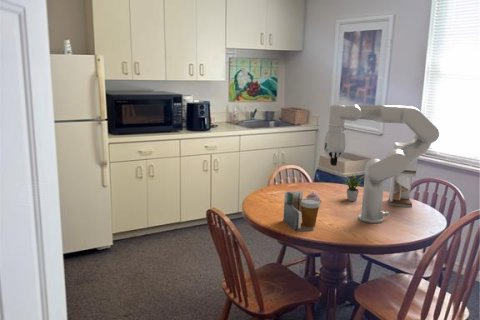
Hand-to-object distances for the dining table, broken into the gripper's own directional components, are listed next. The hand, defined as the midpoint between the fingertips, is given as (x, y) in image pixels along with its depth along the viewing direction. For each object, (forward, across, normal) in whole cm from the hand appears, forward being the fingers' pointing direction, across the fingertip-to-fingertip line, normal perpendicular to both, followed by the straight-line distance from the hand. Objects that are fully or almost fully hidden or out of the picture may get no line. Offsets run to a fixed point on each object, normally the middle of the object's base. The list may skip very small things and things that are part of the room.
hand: (333, 165), depth 209 cm
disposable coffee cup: (+27, +17, +10) cm, 34 cm away
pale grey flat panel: (+27, +25, +10) cm, 38 cm away
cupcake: (+27, +4, -12) cm, 30 cm away
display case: (+27, -51, -10) cm, 59 cm away
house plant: (+27, -27, -21) cm, 44 cm away
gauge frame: (+27, +22, +10) cm, 36 cm away
